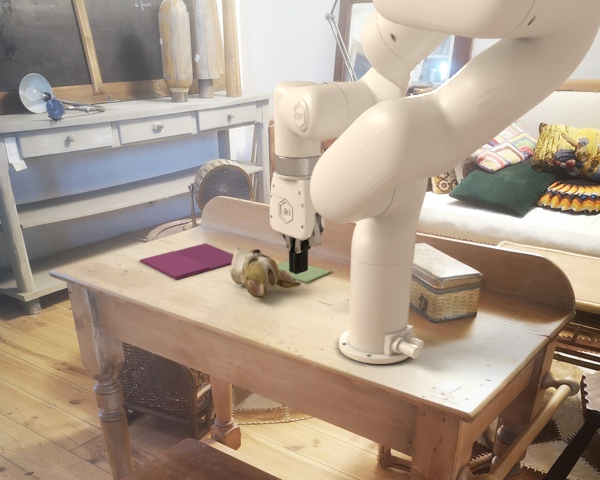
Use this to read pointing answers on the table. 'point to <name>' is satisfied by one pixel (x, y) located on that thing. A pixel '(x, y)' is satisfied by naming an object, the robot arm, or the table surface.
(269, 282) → the ceramic sculpture
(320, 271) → the sage cloth
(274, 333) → the table surface
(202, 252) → the plum cloth
